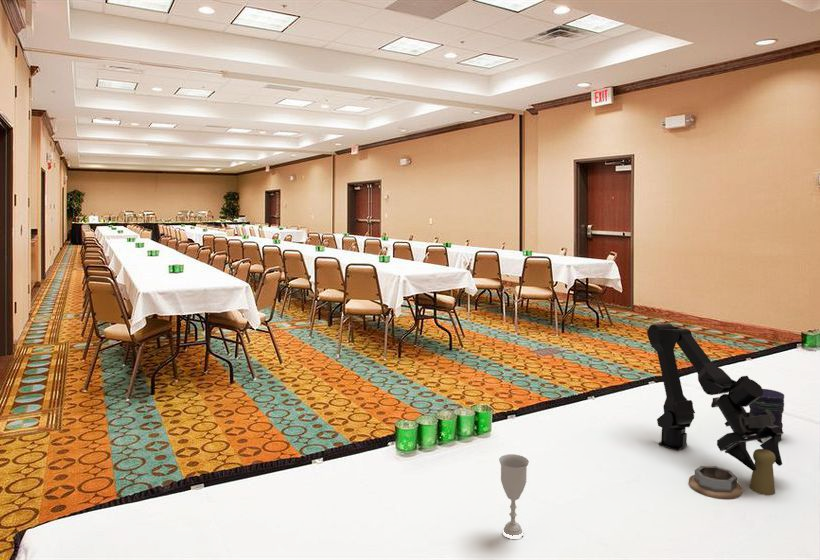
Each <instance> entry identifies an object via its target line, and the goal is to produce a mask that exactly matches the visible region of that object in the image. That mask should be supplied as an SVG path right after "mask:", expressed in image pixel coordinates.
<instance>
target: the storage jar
mask: <svg viewBox="0 0 820 560" xmlns="http://www.w3.org/2000/svg"><path fill="white" fill-rule="evenodd" d="M762 389H763V395H762V396H761V397H760V398H758V399H757V400H756V401H754V402H753V403H751V404H750V405H749V406H748V407H749V412H751V413H752V414H753V415H754V416H760V415H761V412H762V411H769V410H770V411H771V412H772V413H773V415H774V417H775V422H773V425H777V426H779V427H780V428H781V430H782V431H783V426H784V425H783V413H784V411H785V409H784V408H785V394H784V393H783V392H780V391H777V390H773V389H769V388H768V389H767V388H762ZM766 427H767V426H766ZM764 428H765V427H764ZM764 428H763V429H764ZM761 430H762V429H761ZM761 430H759V431H761ZM759 431H758V432H759ZM752 437H754V436H752ZM781 441H782V437H781V438H780V439H779V442H778V443H780V442H781Z"/></svg>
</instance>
